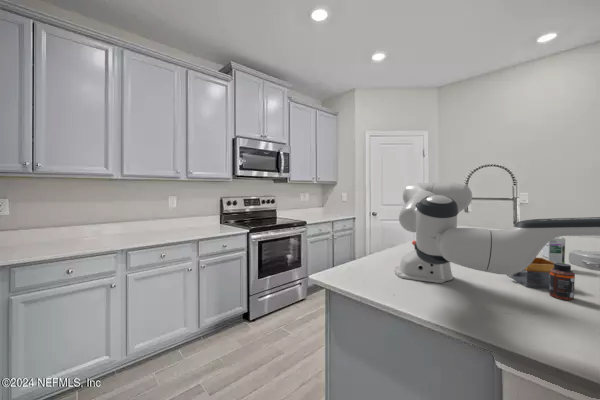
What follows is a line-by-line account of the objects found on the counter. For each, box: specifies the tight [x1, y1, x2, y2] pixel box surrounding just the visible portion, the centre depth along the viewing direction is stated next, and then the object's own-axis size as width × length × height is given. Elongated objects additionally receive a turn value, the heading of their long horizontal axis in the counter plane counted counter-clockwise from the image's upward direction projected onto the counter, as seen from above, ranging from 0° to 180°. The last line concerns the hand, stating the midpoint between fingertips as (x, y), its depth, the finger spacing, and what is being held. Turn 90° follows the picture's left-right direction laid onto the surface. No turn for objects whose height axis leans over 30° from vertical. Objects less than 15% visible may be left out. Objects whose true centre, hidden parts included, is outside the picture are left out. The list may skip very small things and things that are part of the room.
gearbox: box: [506, 257, 554, 290], centre depth 101 cm, size 15×13×8 cm
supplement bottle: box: [548, 263, 576, 301], centre depth 87 cm, size 6×6×11 cm
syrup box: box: [541, 236, 566, 264], centre depth 118 cm, size 6×6×14 cm
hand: (596, 253), depth 74 cm, fingers open, 8 cm apart
